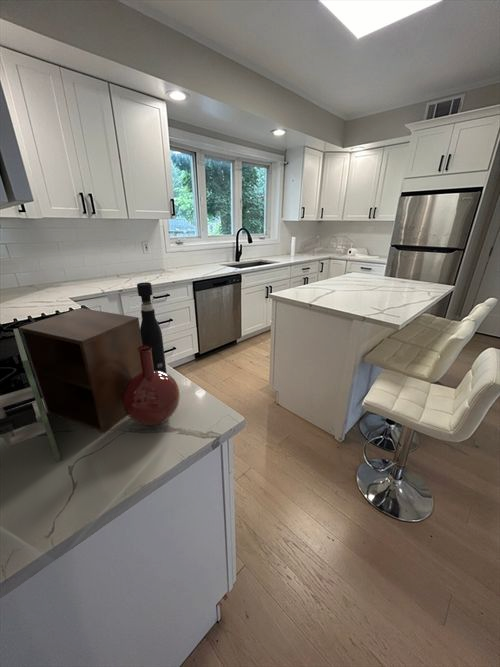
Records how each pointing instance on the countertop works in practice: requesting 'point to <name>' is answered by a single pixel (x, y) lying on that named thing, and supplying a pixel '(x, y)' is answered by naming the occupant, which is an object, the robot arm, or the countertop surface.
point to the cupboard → (84, 364)
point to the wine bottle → (151, 327)
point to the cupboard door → (26, 394)
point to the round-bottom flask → (150, 393)
